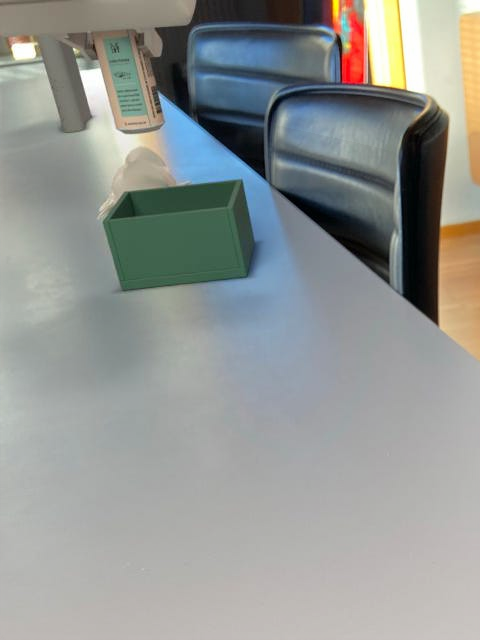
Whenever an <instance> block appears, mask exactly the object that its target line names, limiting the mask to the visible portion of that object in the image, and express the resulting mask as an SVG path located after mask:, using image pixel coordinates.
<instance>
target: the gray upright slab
mask: <svg viewBox="0 0 480 640" xmlns="http://www.w3.org/2000/svg"><path fill="white" fill-rule="evenodd" d="M35 38H36V41H37V45H38V48H39V51H40V54H41V55H40V56H41V58H42V61H43V62H42V63H43V65H44V69H45V72H46V77H47V79H48V83H49V86H50V89H51V92H52V96H53V99H54V104H55V106H56V109H57V113H58V116H59V119H60V124H61V127H62V130H63V132H64V133H75V132H81V131H84V130H85V124H86V123H87V122H88V121H89V120H90V119H91V118H92V117H93V116H92V112H91V109H90V105H89V102H88V97H87V94H86V91H85V87H84V84H83V83H84V82H83V80H82V76H81V72H80V68H79V65H78V61H77V58H76V54H75V50H74V48H73V47H71V46H69V45H67V44H65V43H63V42H62V41H60V40H58V39H56V37H55V36H54V35H53V34H51V35H36V36H35Z"/></svg>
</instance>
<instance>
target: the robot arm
mask: <svg viewBox="0 0 480 640" xmlns="http://www.w3.org/2000/svg"><path fill="white" fill-rule="evenodd" d="M196 5H197V0H0V37H3V38H8V39H9V38H19V37H36V35H51V34H53V35H54V36H55V37H56V39H58V40H60V41H62V42H63V43H65V44H67V45H69V46H71V47H73V49H75V50H76V51H77V50H78V52H79V53H80V54H81V55H82V56H83V57H84V58H85V59H86V61H87V62H93V61H99V60H98V57H97V53H96V49H95V45H94V41H93V37H92V34H91V32H95V31H110V30H125V29H135V30H136V31H137V33H139V37H140V38H139V39H138V42H137V47H138V49H139V50H140V51H141V52H143V55H144V57H150V58H159V57H160V58H161V56H162V53H163V52H162V51H163V46H164V45H163V39H162V38H161V36H160V35H159V34H158V32H157V31H156V29H155V28H168V27H169V28H170V27H183V26H189V24H190V23H191V22H192V20H193V17H194V13H195V10H196Z"/></svg>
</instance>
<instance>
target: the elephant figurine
mask: <svg viewBox="0 0 480 640" xmlns="http://www.w3.org/2000/svg"><path fill="white" fill-rule="evenodd" d="M124 161H125V162H124V165H121V166H120V167H119V168H118V169H117V170H116V171H115V174H114V177H113V180H112V185H111V191H110V195H108V197H107V199H106V200H105V201H104V203H103V204H102V205H101V206H100V207H99V209H98V212H100V213H99V214H98V216H97V218H96V221H97V220H99V219H101V218H103V217H105V216H106V214H108V213H109V212H110V211H111V209H112V208H113V207H114V205H115V204H116V202H117V201H118V200H119V198H120V197H121V196H122V194H123V193H124V192H125V191H134V190H144V189H153V188H163V187H172V186H181V185H191V184H192V181H191V180H188V181H183V182H180V183H178V181H177V180H176V179H175V178H174V177H173V176H172V175H171V174H170V169H169V167H168V166H167V165H166V163H165V162H164V160H163V159H162V157H161V156H160V155H159V154H158V153H157V152H155V151H154V150H153V149H151V148H150V147H147V146H145V145H139V146H136V147H135V148H133V149H131V150H130V151H129V152H128V153H127V155H126V157H125V160H124Z"/></svg>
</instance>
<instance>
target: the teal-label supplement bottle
mask: <svg viewBox="0 0 480 640" xmlns="http://www.w3.org/2000/svg"><path fill="white" fill-rule="evenodd" d="M91 34H92V37H93V41H94V45H95V49H96V53H97V57H98V60H97V61H98V64H99V67H100V71H101V72H100V73H101V76H102V79H103V84H104V87H105V91H106V95H107V98H108V103H109V106H110V111H111V113H112V117H113V121H114V126H115V129H116V130H117V131H119V132H121V133H123V134H124V135H140V134H141V135H142V134H148V133H153V132H156V131H159V130H161V128H162V127H163V126H164V125H165V124H166V120H165V116H164V113H163V108H162V104H161V100H160V95H159V91H158V86H157V82H156V78H155V74H154V69H153V64H152V60H151V57H144V55H143V52H141V51H140V50H139V49H138V47H137V42H138V39H139V38H140V37H139V33H137V31H136V30H135V29H125V30H110V31H95V32H91Z"/></svg>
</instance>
